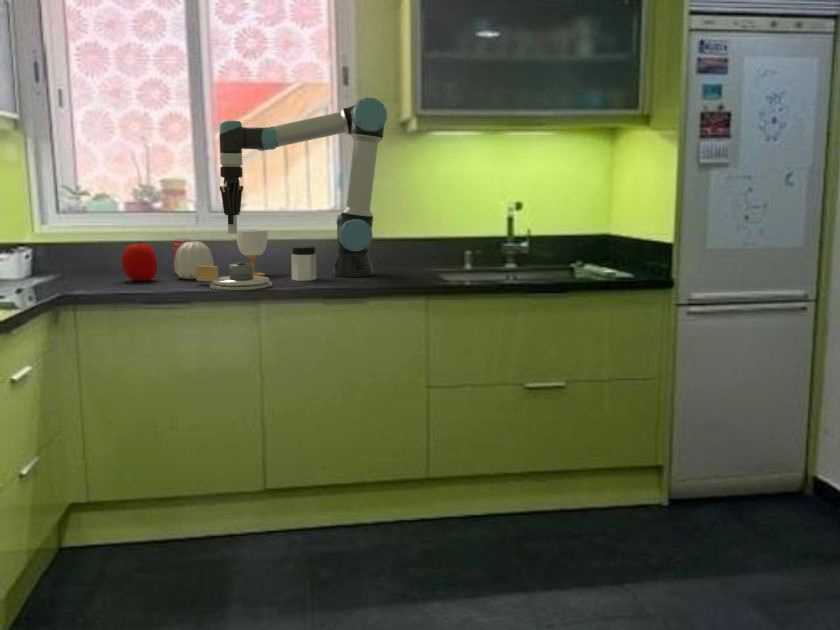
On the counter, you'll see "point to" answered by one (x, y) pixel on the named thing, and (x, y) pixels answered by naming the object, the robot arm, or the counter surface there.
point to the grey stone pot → (241, 271)
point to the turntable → (212, 275)
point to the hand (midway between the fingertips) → (232, 233)
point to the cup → (252, 244)
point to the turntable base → (239, 287)
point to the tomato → (139, 262)
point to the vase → (191, 259)
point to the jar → (303, 263)
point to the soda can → (177, 244)
